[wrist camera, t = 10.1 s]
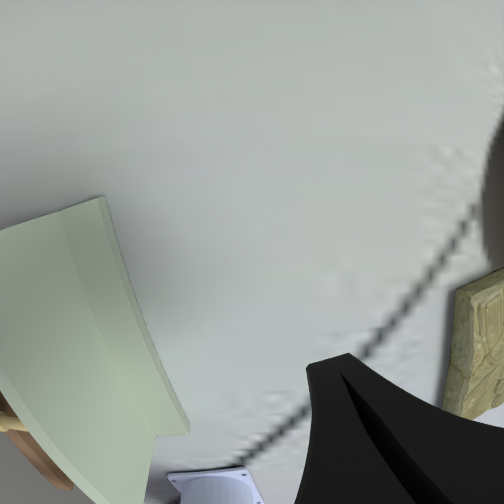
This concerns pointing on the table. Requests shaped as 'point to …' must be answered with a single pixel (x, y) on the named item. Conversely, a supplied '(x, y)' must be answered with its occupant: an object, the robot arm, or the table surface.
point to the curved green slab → (81, 354)
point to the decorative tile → (477, 348)
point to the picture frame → (35, 452)
